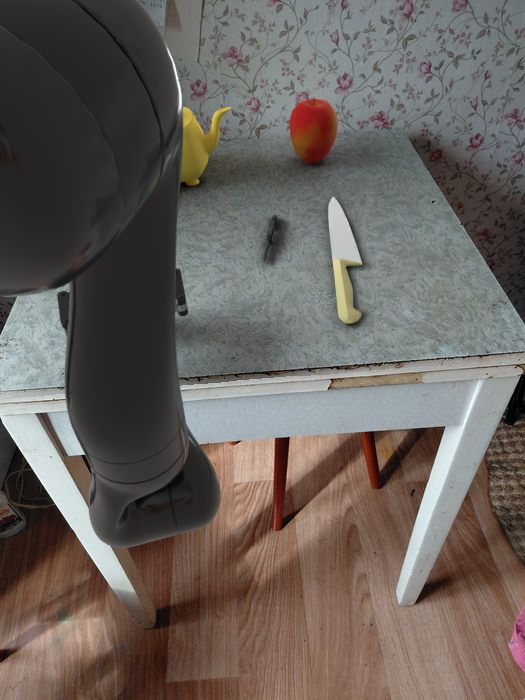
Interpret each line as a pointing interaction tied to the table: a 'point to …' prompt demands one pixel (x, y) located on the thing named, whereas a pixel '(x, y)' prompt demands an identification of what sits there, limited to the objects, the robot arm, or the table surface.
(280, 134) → the table surface
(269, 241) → the folding knife
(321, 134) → the apple
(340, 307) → the knife
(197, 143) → the teapot
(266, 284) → the table surface
